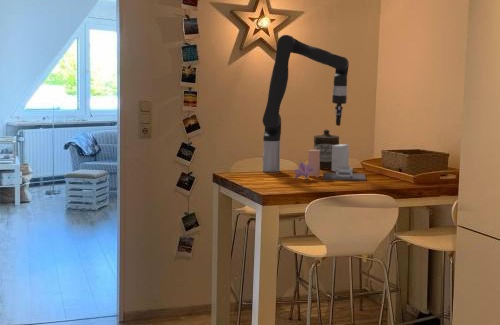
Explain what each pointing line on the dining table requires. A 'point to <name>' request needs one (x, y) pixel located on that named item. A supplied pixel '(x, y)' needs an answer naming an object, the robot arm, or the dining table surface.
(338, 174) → the collar stand
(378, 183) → the dining table surface
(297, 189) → the dining table surface
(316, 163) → the pink rectangular block
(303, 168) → the lily
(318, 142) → the labeled lidded canister
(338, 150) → the skincare box
